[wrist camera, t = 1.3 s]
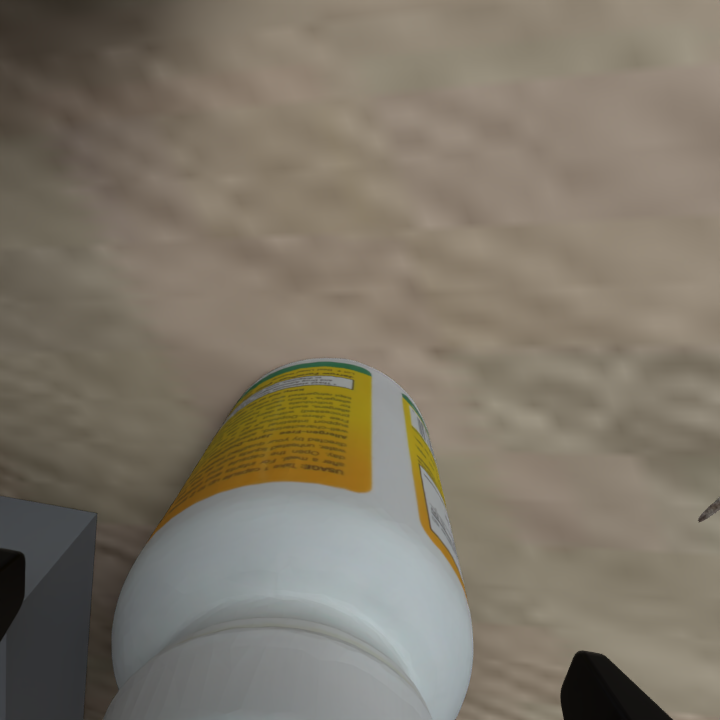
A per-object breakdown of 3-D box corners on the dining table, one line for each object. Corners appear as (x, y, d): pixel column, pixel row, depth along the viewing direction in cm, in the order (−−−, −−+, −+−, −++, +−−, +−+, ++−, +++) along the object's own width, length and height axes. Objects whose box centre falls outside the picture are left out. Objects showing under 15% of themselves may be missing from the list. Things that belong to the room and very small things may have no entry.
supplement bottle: (469, 426, 14) (649, 845, 5) (351, 565, 16) (328, 1095, 7) (298, 309, 13) (150, 562, 4) (188, 467, 15) (-101, 918, 6)
